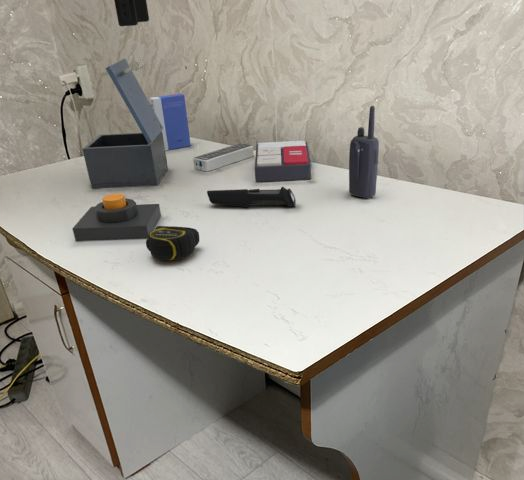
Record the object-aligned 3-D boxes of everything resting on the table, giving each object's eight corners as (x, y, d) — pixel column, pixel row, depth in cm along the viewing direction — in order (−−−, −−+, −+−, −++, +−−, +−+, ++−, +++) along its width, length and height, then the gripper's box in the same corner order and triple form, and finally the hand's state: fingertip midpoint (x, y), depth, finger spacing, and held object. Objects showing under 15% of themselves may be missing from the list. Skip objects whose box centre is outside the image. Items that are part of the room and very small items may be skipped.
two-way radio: (379, 196, 95) (386, 105, 87) (363, 202, 93) (367, 110, 85) (356, 189, 99) (360, 101, 90) (339, 195, 97) (342, 106, 88)
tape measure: (203, 247, 81) (200, 224, 79) (185, 267, 76) (181, 242, 74) (162, 244, 83) (158, 221, 81) (141, 263, 78) (137, 239, 75)
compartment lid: (105, 68, 96) (128, 54, 95) (121, 60, 106) (143, 47, 104) (148, 143, 103) (170, 132, 102) (160, 129, 113) (180, 119, 111)
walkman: (187, 143, 135) (180, 91, 128) (190, 146, 133) (184, 93, 126) (157, 149, 132) (148, 96, 125) (160, 151, 130) (151, 97, 123)
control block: (75, 241, 86) (69, 217, 84) (94, 218, 94) (88, 196, 92) (148, 238, 85) (144, 214, 83) (161, 215, 93) (157, 193, 91)
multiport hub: (254, 155, 122) (253, 145, 121) (206, 171, 114) (205, 160, 112) (241, 153, 125) (240, 142, 123) (193, 168, 116) (192, 157, 115)
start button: (101, 211, 86) (99, 201, 85) (107, 204, 89) (105, 193, 88) (123, 210, 86) (121, 200, 85) (129, 203, 89) (127, 192, 88)
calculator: (254, 163, 104) (256, 140, 115) (255, 185, 106) (257, 160, 118) (311, 160, 103) (307, 137, 115) (311, 182, 106) (307, 157, 118)
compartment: (91, 188, 109) (82, 148, 104) (107, 171, 118) (99, 134, 114) (157, 185, 108) (150, 145, 103) (168, 168, 117) (162, 131, 113)
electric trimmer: (211, 203, 98) (209, 186, 96) (296, 201, 96) (295, 183, 94) (207, 211, 95) (204, 193, 93) (294, 208, 93) (294, 190, 91)
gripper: (105, -93, 93) (125, 22, 103) (74, -106, 79) (101, 29, 89) (147, -97, 93) (164, 19, 103) (124, -110, 79) (145, 25, 88)
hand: (134, 23), depth 96 cm, fingers open, 9 cm apart
